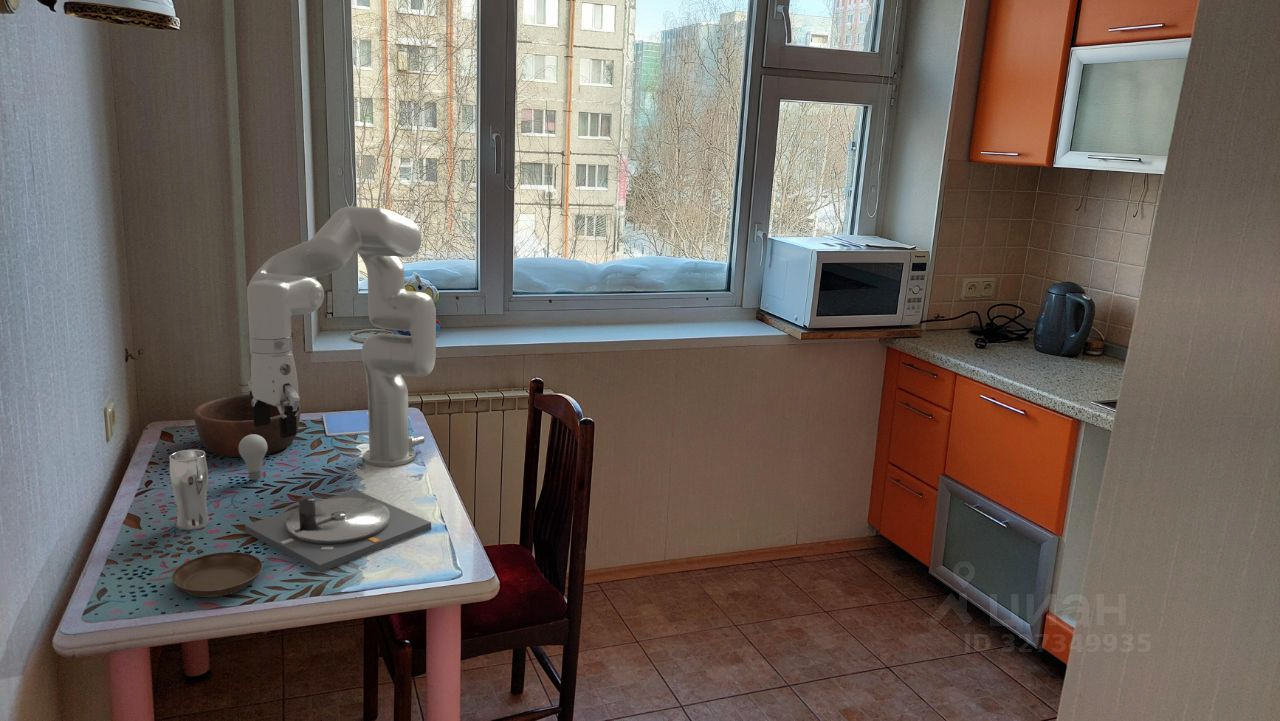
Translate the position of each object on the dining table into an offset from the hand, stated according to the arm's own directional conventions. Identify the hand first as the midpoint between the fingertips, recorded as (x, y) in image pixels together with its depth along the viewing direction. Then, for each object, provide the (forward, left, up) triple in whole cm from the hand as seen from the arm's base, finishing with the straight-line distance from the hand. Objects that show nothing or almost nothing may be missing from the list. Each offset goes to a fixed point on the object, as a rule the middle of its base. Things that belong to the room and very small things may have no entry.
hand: (275, 430), depth 179 cm
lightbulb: (-12, -30, -22) cm, 39 cm away
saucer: (+18, +10, -22) cm, 31 cm away
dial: (-9, +7, -20) cm, 23 cm away
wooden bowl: (-24, -53, -22) cm, 62 cm away
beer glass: (+9, -17, -22) cm, 29 cm away
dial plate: (-9, +7, -22) cm, 25 cm away
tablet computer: (-51, -50, -23) cm, 74 cm away
